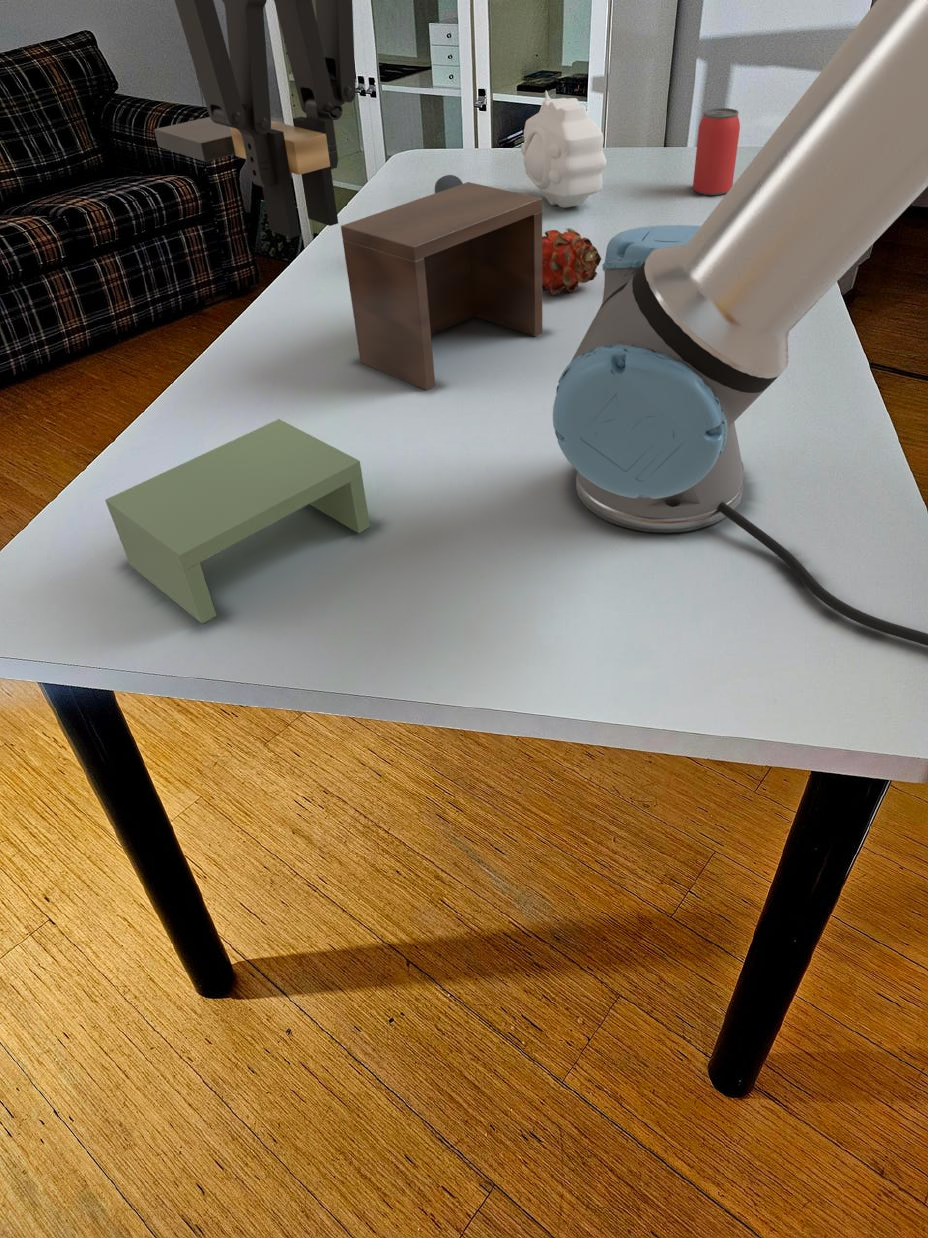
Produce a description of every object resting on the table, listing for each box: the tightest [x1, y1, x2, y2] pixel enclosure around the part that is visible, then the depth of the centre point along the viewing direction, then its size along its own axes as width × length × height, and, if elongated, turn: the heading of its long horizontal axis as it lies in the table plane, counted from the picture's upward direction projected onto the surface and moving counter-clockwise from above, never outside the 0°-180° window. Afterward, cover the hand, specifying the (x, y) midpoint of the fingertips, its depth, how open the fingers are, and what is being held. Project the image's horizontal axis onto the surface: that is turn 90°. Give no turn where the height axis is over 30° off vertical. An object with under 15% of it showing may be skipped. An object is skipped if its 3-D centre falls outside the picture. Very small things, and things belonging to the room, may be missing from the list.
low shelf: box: [104, 418, 371, 625], centre depth 78 cm, size 12×18×7 cm, turn 135°
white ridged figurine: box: [520, 90, 607, 208], centre depth 146 cm, size 11×18×16 cm, turn 21°
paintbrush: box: [434, 174, 464, 194], centre depth 149 cm, size 20×5×5 cm, turn 38°
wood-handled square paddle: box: [153, 116, 330, 176], centre depth 63 cm, size 16×7×2 cm, turn 42°
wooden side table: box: [340, 181, 543, 391], centre depth 105 cm, size 12×20×16 cm, turn 135°
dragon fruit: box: [542, 227, 602, 296], centre depth 120 cm, size 8×8×12 cm
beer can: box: [692, 107, 741, 196], centre depth 148 cm, size 7×7×12 cm
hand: (304, 225), depth 63 cm, fingers closed on wood-handled square paddle, 3 cm apart
